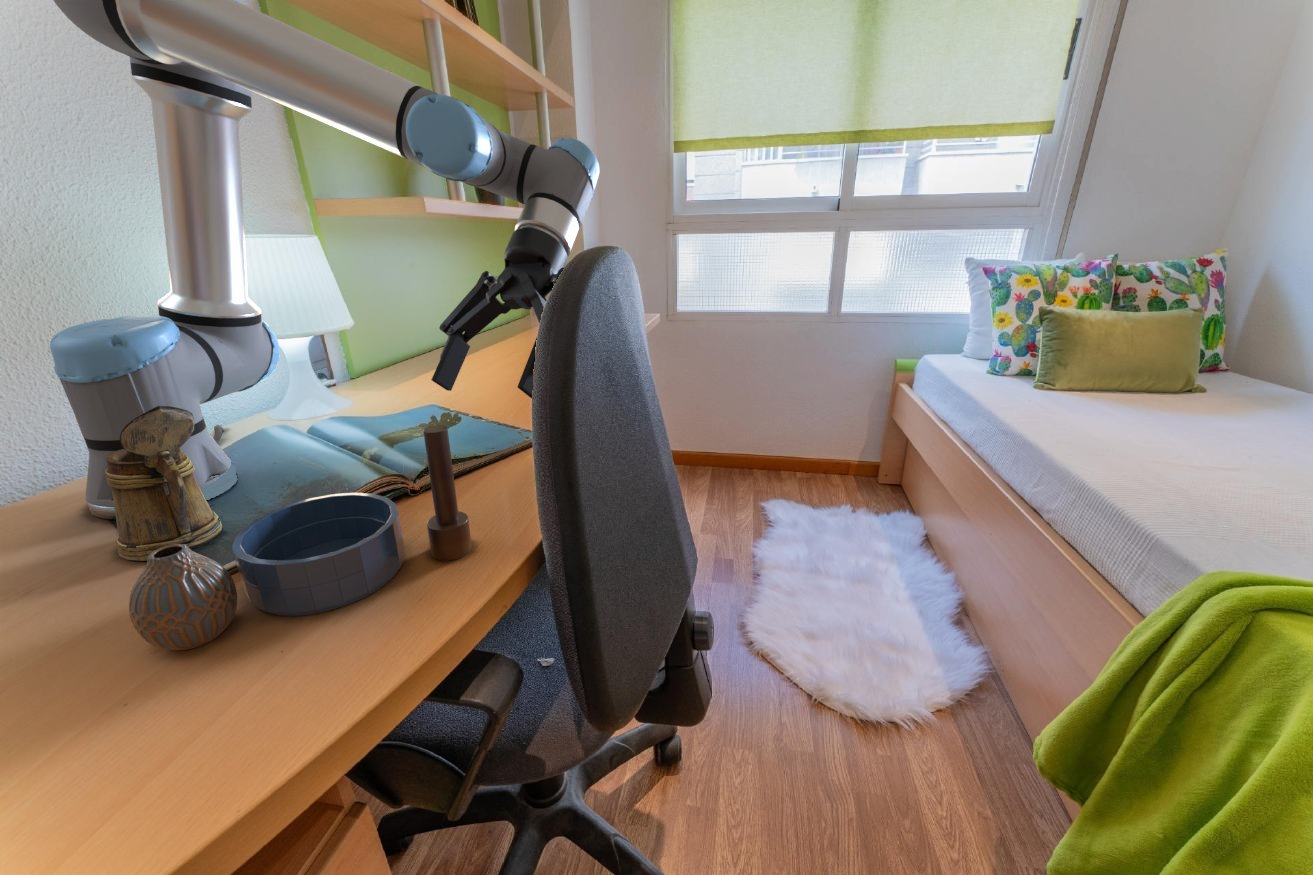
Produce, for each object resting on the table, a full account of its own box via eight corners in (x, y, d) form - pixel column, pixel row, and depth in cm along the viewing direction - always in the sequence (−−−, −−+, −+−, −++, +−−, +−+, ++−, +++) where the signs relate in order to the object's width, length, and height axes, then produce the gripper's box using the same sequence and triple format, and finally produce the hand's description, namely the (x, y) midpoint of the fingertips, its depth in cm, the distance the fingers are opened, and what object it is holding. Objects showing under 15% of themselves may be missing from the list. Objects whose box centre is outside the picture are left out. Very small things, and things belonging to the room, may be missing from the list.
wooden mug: (158, 584, 53) (96, 418, 47) (106, 547, 59) (44, 395, 53) (255, 544, 60) (213, 395, 54) (200, 514, 67) (156, 378, 60)
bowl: (233, 573, 55) (217, 524, 53) (375, 524, 65) (367, 481, 63) (270, 641, 46) (253, 584, 44) (428, 572, 56) (421, 523, 54)
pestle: (424, 550, 60) (405, 428, 55) (460, 536, 63) (445, 419, 58) (442, 565, 57) (424, 439, 52) (479, 550, 60) (465, 428, 55)
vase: (263, 610, 50) (239, 530, 47) (203, 664, 43) (170, 576, 40) (193, 607, 50) (164, 528, 47) (122, 662, 43) (83, 574, 40)
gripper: (636, 260, 65) (585, 411, 59) (488, 268, 76) (431, 396, 70) (609, 216, 59) (549, 379, 53) (452, 231, 70) (386, 368, 63)
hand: (481, 389), depth 61 cm, fingers open, 13 cm apart
